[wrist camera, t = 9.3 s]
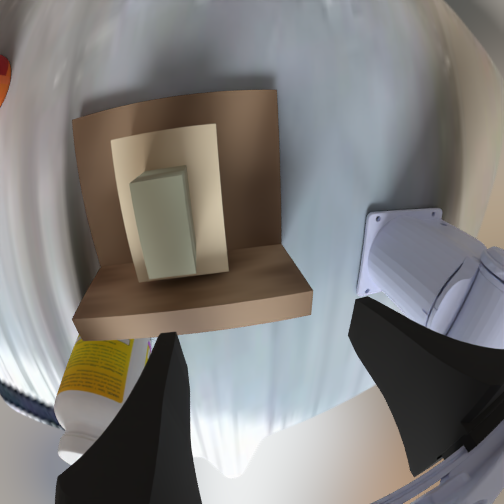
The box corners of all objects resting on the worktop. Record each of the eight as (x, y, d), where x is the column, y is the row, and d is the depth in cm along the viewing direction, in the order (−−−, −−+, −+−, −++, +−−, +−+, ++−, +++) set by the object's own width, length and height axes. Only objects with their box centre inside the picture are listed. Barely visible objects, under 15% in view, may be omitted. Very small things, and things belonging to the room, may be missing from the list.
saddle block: (212, 125, 15) (220, 120, 9) (222, 241, 18) (236, 304, 12) (130, 137, 14) (86, 144, 8) (149, 251, 17) (128, 316, 11)
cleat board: (271, 92, 16) (314, 72, 9) (277, 256, 21) (311, 314, 14) (79, 120, 14) (19, 121, 7) (111, 277, 19) (82, 341, 13)
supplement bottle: (71, 319, 20) (24, 439, 8) (126, 296, 20) (88, 442, 9) (112, 366, 23) (93, 481, 12) (166, 351, 23) (163, 482, 12)
